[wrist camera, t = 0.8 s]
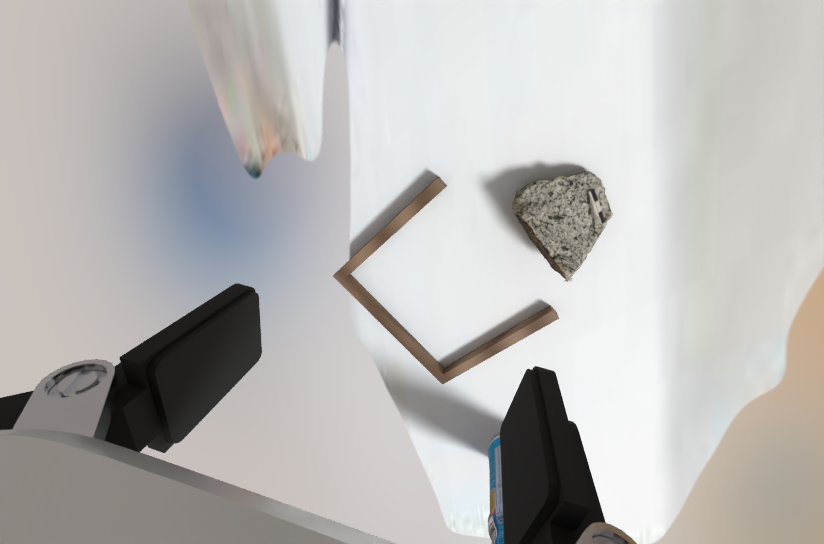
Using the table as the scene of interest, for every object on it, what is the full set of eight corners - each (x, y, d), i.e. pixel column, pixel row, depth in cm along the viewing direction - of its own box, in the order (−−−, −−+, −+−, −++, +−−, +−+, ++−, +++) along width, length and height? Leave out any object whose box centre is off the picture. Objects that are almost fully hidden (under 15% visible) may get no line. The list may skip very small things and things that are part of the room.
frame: (438, 176, 33) (437, 178, 32) (556, 312, 36) (559, 318, 35) (336, 272, 40) (332, 276, 39) (443, 378, 43) (442, 384, 42)
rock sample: (669, 220, 27) (603, 266, 24) (604, 257, 34) (547, 297, 31) (587, 132, 29) (518, 165, 26) (542, 184, 36) (484, 214, 33)
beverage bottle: (521, 419, 44) (546, 621, 26) (561, 456, 45) (612, 673, 27) (475, 443, 47) (469, 635, 30) (513, 476, 49) (531, 679, 31)
